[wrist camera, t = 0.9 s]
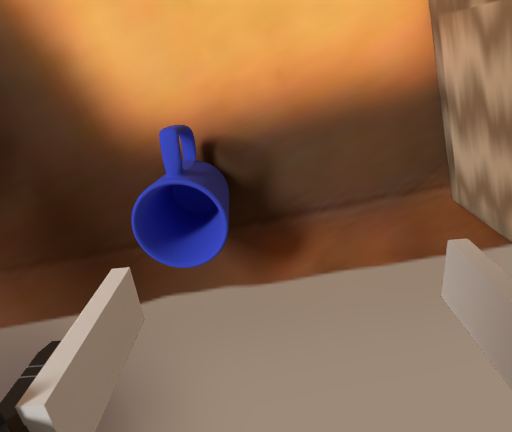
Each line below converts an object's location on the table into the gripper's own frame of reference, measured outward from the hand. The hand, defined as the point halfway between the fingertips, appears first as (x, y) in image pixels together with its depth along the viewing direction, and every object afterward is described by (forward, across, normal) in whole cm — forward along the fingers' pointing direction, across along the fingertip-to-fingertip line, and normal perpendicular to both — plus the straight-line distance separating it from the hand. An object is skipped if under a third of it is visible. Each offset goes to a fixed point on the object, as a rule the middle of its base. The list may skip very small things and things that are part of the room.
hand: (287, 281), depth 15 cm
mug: (+25, -8, -2) cm, 26 cm away
